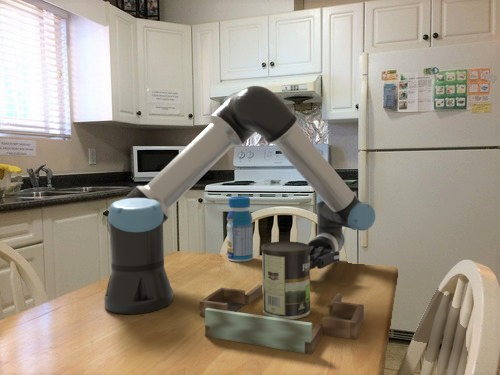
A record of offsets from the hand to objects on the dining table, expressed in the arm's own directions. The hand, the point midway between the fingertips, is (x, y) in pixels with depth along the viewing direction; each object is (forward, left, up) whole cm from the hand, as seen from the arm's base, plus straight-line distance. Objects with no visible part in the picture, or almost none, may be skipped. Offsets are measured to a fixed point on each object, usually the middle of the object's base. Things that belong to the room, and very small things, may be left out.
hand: (298, 270), depth 98 cm
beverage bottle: (-28, +29, -7) cm, 41 cm away
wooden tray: (0, -13, -6) cm, 15 cm away
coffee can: (0, -9, -7) cm, 11 cm away
